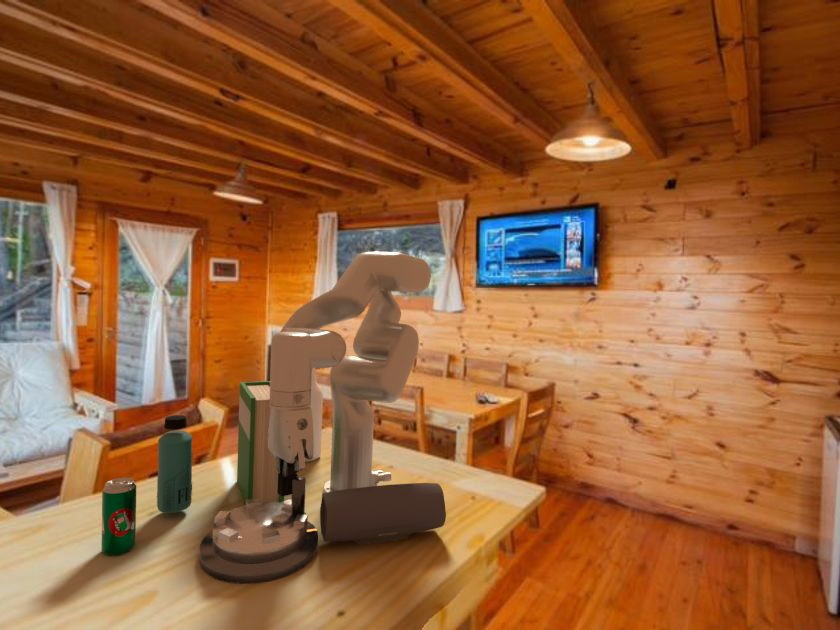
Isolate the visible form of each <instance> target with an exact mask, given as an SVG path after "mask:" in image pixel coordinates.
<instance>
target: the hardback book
mask: <svg viewBox="0 0 840 630" xmlns="http://www.w3.org/2000/svg"><path fill="white" fill-rule="evenodd" d="M238 397H239V403H238V404H239V405H238V431H237V432H238V435H237V436H238V437H237V438H238V439H237V468H236V471H237V473H236V482H237V486H238V488H239V490H240V495H241V497H242V501H243V503H244V505H246V500H249V499H255V498H260V499H261V500H262V503H263V502H278V503H282V502H284V501H285V496H283V497H282V496H281V495H279V494H278V471H277V460H276V458H275V457H274V456H273V453H272V452H270V450H269V449H268V426H269V416H270V409H271V407H270V406H269V399H270V380H263V381H262V380H261V381H242V382H241V381H240V382H239V395H238Z"/></svg>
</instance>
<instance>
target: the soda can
mask: <svg viewBox="0 0 840 630" xmlns="http://www.w3.org/2000/svg"><path fill="white" fill-rule="evenodd" d="M101 494H102V495H101V547H100V549H101V552H102V553H103V554H105V555H106V556H112V557H113V556H120V555H121V556H122V555H123V554H126V553H128V552H130V551H131V550H132V549H133V548H134V547H135V545H136V537H137V536H136V531H137V528H136V526H137V484H136V482H135V479H134V478H132V477H119V478H112V479H111V480H109V481H107V482H106V483H105V484H104V487H103V489H102V490H101Z"/></svg>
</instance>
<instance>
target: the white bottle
mask: <svg viewBox="0 0 840 630" xmlns="http://www.w3.org/2000/svg"><path fill="white" fill-rule="evenodd" d="M316 370H317V369H316V368H313V369H312V378H311V405H310V408H311V411H312V418H313V435H314V453H313V458H312V459H310V460H309V459H306V458H305V463H309V462H313V461H316V460H318V459H319V457H320V456H321V453H322V434H323V433H322V431H323V429H322V428H323V409H324V408H323V403H324V401H323V400H324V394H323V389H322V387H321V386H320V385H319V384H318V382H317V374H316V373H317V371H316Z"/></svg>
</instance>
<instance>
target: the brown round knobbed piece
mask: <svg viewBox="0 0 840 630" xmlns="http://www.w3.org/2000/svg"><path fill="white" fill-rule="evenodd" d="M306 485H307V484H306V477H305V476H302V475H301V476H300V475H299V476H298V475H297V477H294V478H292V494H291V499H287V500H284V502H282V503H278V502H263V503H262V500H261V499H260V498H255V499H249V500H246V505H245V504H244V505H242V506H238V507H236V508H233V509H230V510H220V511H218V512H217V514H216V515H215V516H214V520H213V521H214V522H213V526H212V530H213V544H212V545H213V550H214V551H215V553H216V554H217V555H218V556H220V557H222V558H224V559H226V560H229V561H233V562H239V563H259V562H266V561H272V560H275V559H279V558H282V557H284V556H287V555H289V554H291V553H293V552H294V551H296V550H297V549H299V548H300V547H301V546H302V545H303V544H304V542H305V541H306V538H307V521H308V522H309V520H308V517H309V514H307V513H306V512H305V511H306V510H305V507H306V505H305V503H306Z"/></svg>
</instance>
